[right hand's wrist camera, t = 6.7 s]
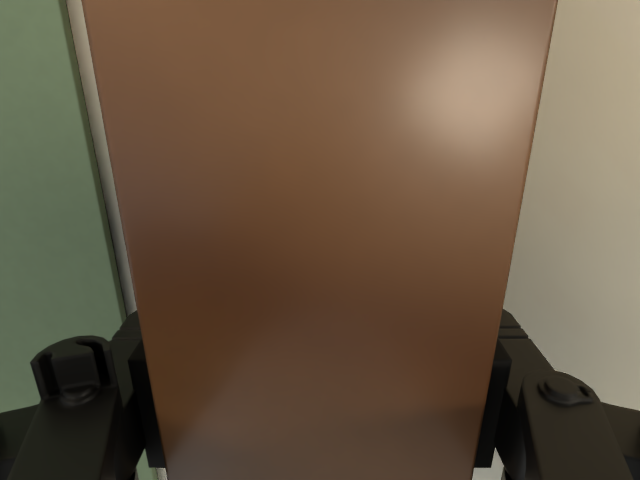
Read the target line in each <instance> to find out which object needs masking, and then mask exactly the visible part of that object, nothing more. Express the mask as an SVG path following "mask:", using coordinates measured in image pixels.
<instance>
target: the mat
mask: <svg viewBox="0 0 640 480" xmlns="http://www.w3.org/2000/svg"><path fill="white" fill-rule="evenodd" d="M126 319H127V318H126V313H125V307H124V302H123V297H122V292H121V287H120V281H119V276H118V271H117V266H116V261H115V255H114V250H113V245H112V240H111V235H110V230H109V224H108V219H107V214H106V209H105V204H104V198H103V193H102V188H101V183H100V178H99V173H98V167H97V162H96V157H95V152H94V147H93V141H92V136H91V131H90V126H89V121H88V115H87V110H86V105H85V100H84V95H83V90H82V84H81V79H80V74H79V69H78V64H77V58H76V53H75V48H74V43H73V38H72V32H71V27H70V22H69V17H68V12H67V7H66V1H65V0H0V413H1V412H6V411H11V410H15V409H20V408H25V407H29V406H33V405H37V404H39V403H40V400H41V398H40V395H39V391H38V388H37V385H36V381H35V378H34V375H33V371H32V368H31V365H30V362H31V360H32V359H33V358H34V357H35V356H36V354H37V353H39V352H40V351H42V350H43V349H45V348H46V347H48V346H49V345H52V344H54V343H56V342H59V341H61V340H64V339H68V338H72V337H76V336H86V335H94V336H99V337H103V338H105V339H106V340H107V341H110V340H112V337H113V336H114V334H115V333H116V332H117V330H119V329H120V326H121V325H122V324H123V323H124V321H125V320H126ZM136 468H137V472H138V478H139V480H158V478H157V473H156V468H149V466H148V461H147V456H146V451H145V449H144V451H143V453H142V455H141V458H140V460H139V462H138V464H137V466H136Z"/></svg>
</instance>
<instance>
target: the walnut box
mask: <svg viewBox="0 0 640 480" xmlns="http://www.w3.org/2000/svg"><path fill="white" fill-rule="evenodd" d="M81 1H82V6H83V12H84V17H85V23H86V28H87V34H88V40H89V45H90V51H91V56H92V62H93V67H94V73H95V78H96V84H97V90H98V95H99V101H100V106H101V112H102V117H103V123H104V128H105V134H106V140H107V145H108V151H109V156H110V162H111V167H112V173H113V178H114V184H115V190H116V195H117V201H118V206H119V212H120V217H121V223H122V228H123V234H124V240H125V245H126V251H127V256H128V262H129V267H130V273H131V278H132V284H133V290H134V295H135V301H136V306H137V312H138V317H139V323H140V328H141V334H142V340H143V345H144V351H145V356H146V362H147V367H148V373H149V378H150V384H151V390H152V395H153V401H154V406H155V412H156V417H157V423H158V429H159V434H160V440H161V445H162V451H163V456H164V462H165V467H166V473H167V479H168V480H472V476H473V470H474V465H475V459H476V454H477V448H478V442H479V437H480V431H481V426H482V420H483V415H484V409H485V404H486V398H487V392H488V387H489V381H490V376H491V370H492V365H493V359H494V353H495V348H496V342H497V337H498V331H499V326H500V320H501V315H502V309H503V303H504V298H505V292H506V287H507V281H508V276H509V270H510V264H511V259H512V253H513V248H514V242H515V237H516V231H517V226H518V220H519V214H520V209H521V203H522V198H523V192H524V187H525V181H526V175H527V170H528V164H529V159H530V153H531V148H532V142H533V137H534V131H535V125H536V120H537V114H538V109H539V103H540V98H541V92H542V86H543V81H544V75H545V70H546V64H547V59H548V53H549V48H550V42H551V36H552V31H553V25H554V20H555V14H556V9H557V3H558V0H81Z"/></svg>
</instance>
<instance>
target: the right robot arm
mask: <svg viewBox="0 0 640 480" xmlns="http://www.w3.org/2000/svg"><path fill="white" fill-rule="evenodd" d="M520 327H521V326H520V325H519V324H518V322H517V321H516V320H515V318H514V317H513V316H512V315H511V314H510V313H509V312H507V311H506V310H504V309H502V315H501V320H500V326H499V331H498V337H497V342H496V348H495V353H494V359H493V365H492V370H491V376H490V381H489V387H488V392H487V398H486V404H485V409H484V415H483V420H482V426H481V431H480V437H479V442H478V448H477V454H476V459H475V465H474V468H491V465H492V460H493V455H494V450H495V447H496V449H497V452H498V454H499V456H500V458H501V460H502V463H503V465H504V468H503V472H502V477H501V480H640V411H638V410H633V409H629V408H624V407H619V406H615V405H610V404H607V403H603V402H600V399H599V398H598V396H597V395H596V394H595V392H594V391H593V389H591V388H590V387H589V386H587V385H586V384H585V383H584V382H582V381H581V380H579V379H577V378H575V377H573V376H571V375H568V374H566V373H562V372H558V371H555V370H554V369H553V368H552V366H551V365H550V364H549V362H548V361H547V360H546V359H545V357H544V356H543V355H542V353H541V352H540V351H539V350H538V348H537V347H536V346H535V344H534V343H533V342H532V340H531V339H528V335H527V334H526V333H525V331H524V330H523V329H521V328H520ZM30 365H31V368H32V371H33V375H34V378H35V381H36V385H37V388H38V391H39V395H40V398H41V400H40V403H39V404H37V405H33V406H29V407H25V408H20V409H15V410H11V411H6V412H1V413H0V480H139V478H138V472H137V468H136V466H137V464H138V462H139V460H140V458H141V455H142V453H143V451H144V449H145V451H146V456H147V461H148V466H149V468H166V467H165V462H164V456H163V451H162V445H161V440H160V434H159V429H158V423H157V417H156V412H155V406H154V401H153V395H152V390H151V384H150V378H149V373H148V367H147V362H146V356H145V351H144V345H143V340H142V334H141V328H140V323H139V317H138V312H137V311H135V312H134V313H132V314H131V315H129V316H128V317H127V319H126V320H125V321H124V323H123V324H122V325H121V326H120V329H119V330H117V332H116V333H115V334H114V336H113V337H112V340H110V341H107V340H106V339H105V338H103V337H99V336H94V335H86V336H76V337H72V338H68V339H64V340H61V341H59V342H56V343H54V344H52V345H49V346H48V347H46V348H45V349H43V350H42V351H40V352H39V353H37V354H36V356H35V357H34V358H33V359H32V360H31V362H30Z"/></svg>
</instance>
